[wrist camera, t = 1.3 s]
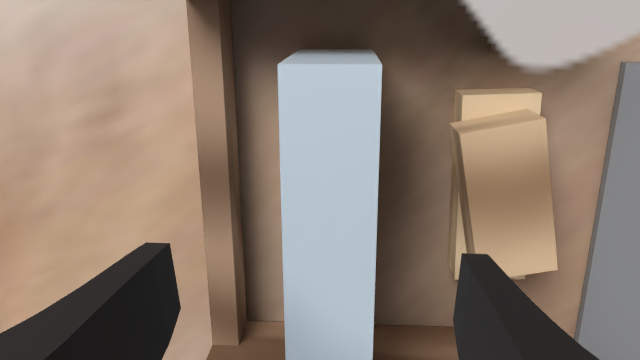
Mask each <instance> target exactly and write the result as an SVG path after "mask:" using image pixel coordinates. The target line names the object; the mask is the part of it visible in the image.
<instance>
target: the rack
mask: <svg viewBox="0 0 640 360" xmlns="http://www.w3.org/2000/svg"><path fill="white" fill-rule="evenodd" d="M186 4H187V17H188V30H189V43H190V56H191V69H192V82H193V95H194V108H195V121H196V134H197V147H198V160H199V173H200V186H201V199H202V212H203V225H204V238H205V251H206V264H207V277H208V290H209V303H210V316H211V329H212V342H213V345H212V348H211V350H210V352H209V355H208V357H207V360H286V358H285V322H269V321H247V310H246V291H245V272H244V253H243V234H242V215H241V196H240V177H239V158H238V139H237V120H236V101H235V82H234V63H233V44H232V25H231V6H230V0H186ZM373 360H459V358H458V352H457V345H456V338H455V330H454V327H439V326H405V325H374V333H373Z"/></svg>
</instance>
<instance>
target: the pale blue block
mask: <svg viewBox="0 0 640 360" xmlns="http://www.w3.org/2000/svg"><path fill="white" fill-rule="evenodd" d="M277 68H278V104H279V140H280V177H281V213H282V249H283V286H284V322H285V358H286V360H373V333H374V302H375V272H376V241H377V211H378V180H379V150H380V119H381V89H382V63H381V62H380V60H379V59H378V57H377V55H376V54H375V52H374V51H373V49H299V50H298V51H296V52H295V53H293V54H292V55H290V56H289V57H288V58H286V59H285V60H283V61H282V62H280V63H279V64H277Z"/></svg>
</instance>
